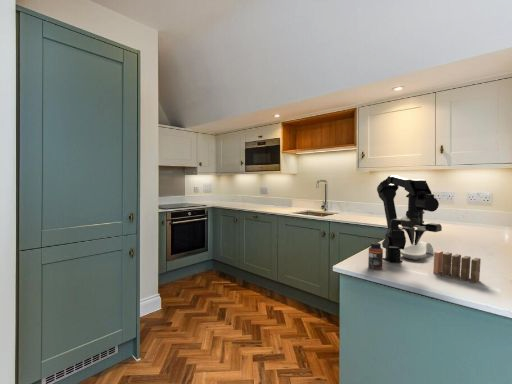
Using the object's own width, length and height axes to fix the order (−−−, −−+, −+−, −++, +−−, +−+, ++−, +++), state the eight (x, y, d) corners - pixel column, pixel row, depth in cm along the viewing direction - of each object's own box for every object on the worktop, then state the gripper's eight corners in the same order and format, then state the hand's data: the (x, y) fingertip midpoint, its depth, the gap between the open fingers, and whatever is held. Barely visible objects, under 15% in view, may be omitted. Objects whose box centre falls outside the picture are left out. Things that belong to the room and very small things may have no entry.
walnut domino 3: (460, 279, 114) (461, 257, 113) (464, 277, 117) (465, 255, 116) (465, 280, 112) (466, 258, 112) (469, 278, 115) (470, 256, 115)
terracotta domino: (433, 272, 122) (434, 252, 121) (438, 270, 125) (439, 250, 124) (437, 273, 120) (438, 253, 120) (442, 271, 123) (443, 251, 123)
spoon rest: (418, 263, 136) (419, 248, 135) (394, 257, 145) (395, 243, 145) (440, 256, 149) (441, 242, 149) (417, 251, 159) (418, 238, 158)
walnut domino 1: (441, 275, 119) (443, 254, 118) (446, 272, 122) (447, 252, 121) (446, 276, 118) (447, 254, 117) (450, 273, 121) (451, 253, 120)
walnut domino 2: (450, 277, 116) (452, 255, 116) (455, 274, 119) (456, 253, 119) (455, 278, 115) (456, 256, 114) (459, 276, 118) (461, 254, 117)
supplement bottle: (378, 265, 130) (379, 241, 130) (384, 270, 124) (385, 244, 124) (365, 265, 130) (366, 241, 129) (371, 270, 124) (372, 244, 123)
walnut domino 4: (470, 282, 111) (471, 259, 110) (474, 279, 114) (475, 257, 113) (475, 283, 110) (476, 260, 109) (479, 280, 113) (480, 258, 112)
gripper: (384, 207, 123) (383, 242, 124) (431, 212, 108) (429, 252, 109) (397, 206, 130) (396, 239, 131) (443, 210, 115) (441, 248, 116)
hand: (413, 244), depth 121 cm, fingers closed
